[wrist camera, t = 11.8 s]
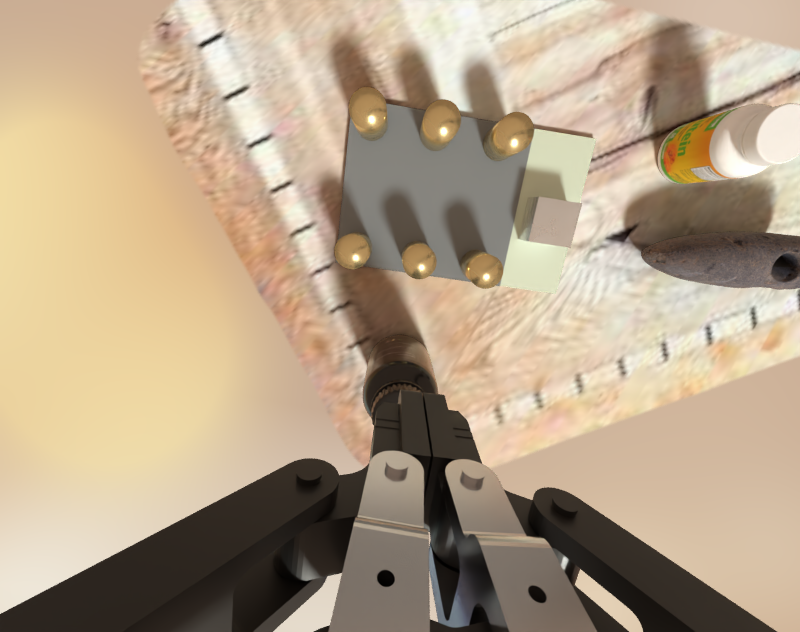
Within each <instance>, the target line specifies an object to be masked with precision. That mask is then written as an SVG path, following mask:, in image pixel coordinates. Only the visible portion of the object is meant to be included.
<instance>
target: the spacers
mask: <svg viewBox="0 0 800 632" xmlns="http://www.w3.org/2000/svg"><path fill="white" fill-rule="evenodd" d="M349 114H350V116H351V119H352V121H353V123H354V125H355V127H356V129H357V131H358V133H359V135H360V136H361V137H362V138H364V139H366V140H369V141H376V140H378V139H380V138H382V137H383V136H384V134H385V133H386V131H387V128H388V117H387V106H386V101H385V99H384V97H383V95H382V94H381V93H380V92H379V91H378V90H376V89H375V88H372V87H363V88H360V89H358V90H357V91H355V92H354V94H353V95H352V96H351V99H350V101H349ZM460 124H461V115H460V112H459V109H458V108H457V106H456V105H455V104H454V103H452V102H451V101H448V100H437V101H435V102H433V103H432V104H431V105H429V107H428V108H427V110H426V112H425V114H424V118H423V121H422V125H421V128H420V139H421V142H422V144H423V145H424V146H425V147H426V148H427V149H429V150H431V151H440V150H442V149H444V148H445V147H446V146H447V145H448V144H449V143H450V141H451V140H452V139H453V137H454V136H455V135H456V133H457V132H458V130H459V128H460ZM533 136H534V126H533V123H532V121H531V119H530V118H529V117H528V116H527V115H526V114H524V113H521V112H513V113H510V114H508V115H506V116H505V117H504V118H503V119H502V120H501V121H499V122H498V123H497V124H496V125H495V126H494V127H493V128H492V129H491V130H489V131H488V133H487V134H486V135H485V137H484V140H483V149H484V152H485V154H486V156H487V157H488V158H490V159H491V160H493V161H502V160H505V159H507V158H509V157H511V156H513V155H515V154H517V153H519V152H520V151H522V150H524V149H526V148H527V147H528V146H529V144H530V143H531V141H532V139H533ZM334 253H335V258H336V260H337V261H338V263H339V264H340V265H341V266H343V267H344V268H347V269H357V268H360V267H362V266H363V265H364V264H365V263H366V261H367V260H368V258H369V257H370V255H371V253H372V242H371V240H370V239H369V237H368V236H367V235H365V234H363V233H361V232H353V233H350V234H348V235H345V236H343V237H342V238H340V239H339V240H338V242H337V243H336V245H335V249H334ZM402 263H403V268H404V270H405V272H406V273H407V274H408V275H409V276H410V277H412V278H415V279H424V278H426V277H428V276H430V275H431V274H432V273H433V272H434V270H435V268H436V264H437V259H436V255H435V253H434V252H433V251H432V249H431V248H430V247H428V246H427V245H426V244H425V243H423V242H421V241H413V242H410V243H408V244H407V245H406V246H405V247H404V249H403V251H402ZM460 268H461V271H462V273H463V274H464V275H465V276H466V277H467V278H468V279H469V280H470V281H471V282H472V283H474V284H475V285H476V286H478V287H480V288H484V289H486V288H491V287H494V286H495V285H497V284H498V283H499V282H500V280H501V279H502V276H503V265H502V263H501V261H500V260H499V259H498V258H496V257H495V256H492V255H490V254H488V253H485V252H483V251H481V250H471V251H469V252H467V253H466V254H465V255H464V256H463V257H462V259H461V262H460Z"/></svg>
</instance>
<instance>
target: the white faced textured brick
mask: <svg viewBox="0 0 800 632" xmlns="http://www.w3.org/2000/svg"><path fill="white" fill-rule="evenodd" d="M581 206H582V203H577V202H570V201H564V200H558V199H552V198H545V197H531V198H527V203H526V207H525V212H524V216H523V220H522V225H521V229H520V233H519V238H518V239H519V240H524V241H529V242H536V243H542V244H549V245H555V246H561V247H568V248H570V247H571V243H572V240H573V236H574V232H575V228H576V225H577V221H578V217H579V213H580V210H581Z"/></svg>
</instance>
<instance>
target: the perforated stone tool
mask: <svg viewBox="0 0 800 632" xmlns="http://www.w3.org/2000/svg"><path fill="white" fill-rule="evenodd" d="M641 256H642V258H643V260H644V261H645V262H646V263H647V264H649V265H650V266H652V267H653V268H655V269H657V270H659V271H661V272H664V273H666V274H668V275H671V276H674V277H677V278H680V279H684V280H688V281H695V282H699V283H704V284H710V285H717V286H724V287H733V288H750V287H767V288H773V289H796V288H800V237H799V236H792V235H782V234H774V233H762V232H717V233H705V234H696V235H687V236H681V237H675V238H671V239H667V240H664V241H661V242H657V243H655V244H653V245H650V246H648V247H646V248H645V249H644V250H643V251H642V252H641Z"/></svg>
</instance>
